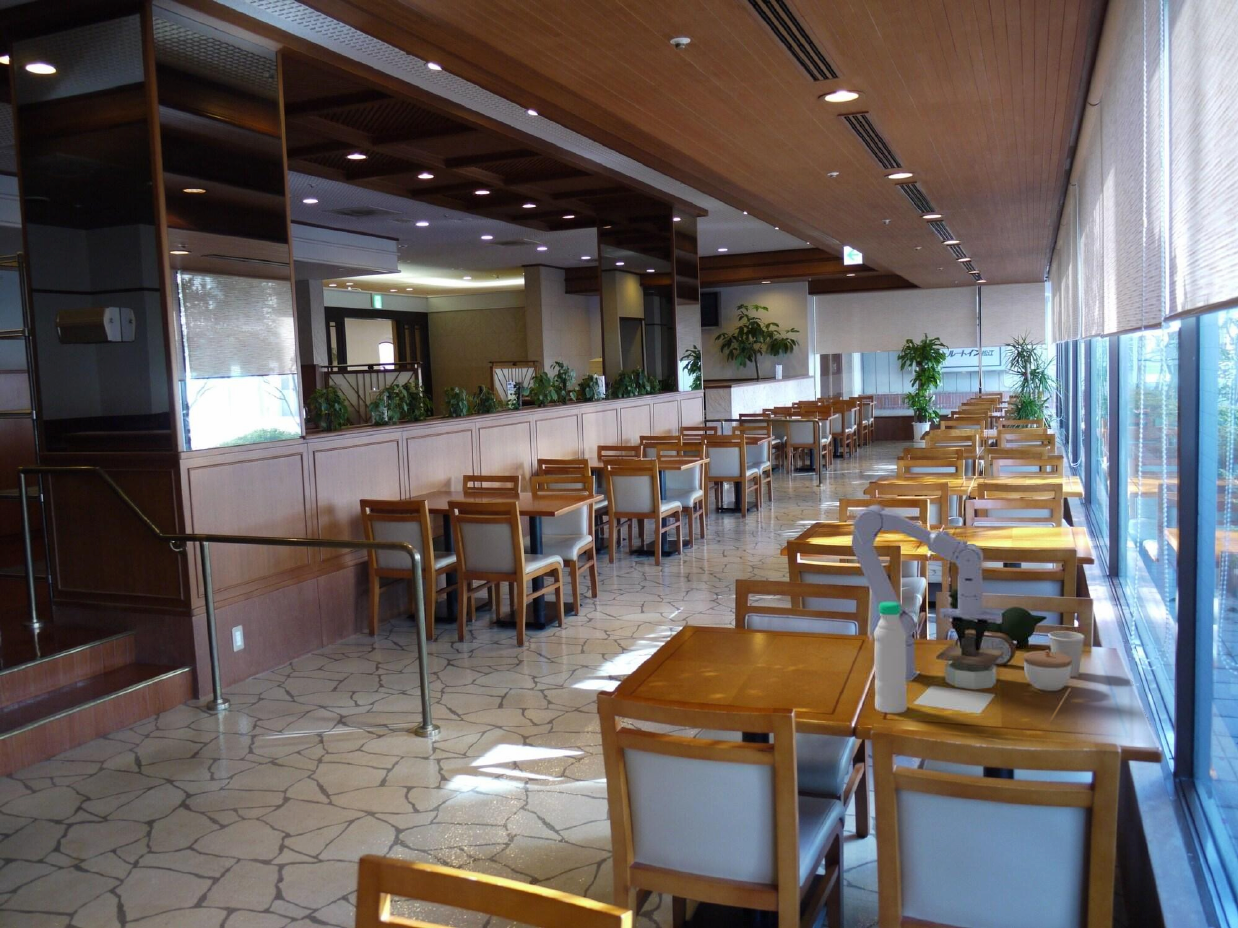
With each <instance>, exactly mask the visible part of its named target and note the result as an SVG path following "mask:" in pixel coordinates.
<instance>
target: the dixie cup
mask: <svg viewBox="0 0 1238 928" xmlns="http://www.w3.org/2000/svg"><path fill="white" fill-rule="evenodd" d="M1047 635H1048V637H1049V643H1050V645H1049V646H1050V652H1057V653H1062V654H1065V655H1067V656H1069V657H1071V659H1072V664H1071V675H1070V678H1076V677H1075V676H1077V677H1079V675H1080V668H1081V667H1080V666H1081V660H1082V654H1083V648H1084V647H1083V646H1084V639H1085V635H1084V634H1082V633H1079V632H1075V631H1069V630H1068V631H1067V630H1054V631H1052V632H1051V631H1050V632H1049V633H1048V634H1047Z"/></svg>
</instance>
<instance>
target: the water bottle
mask: <svg viewBox="0 0 1238 928" xmlns="http://www.w3.org/2000/svg"><path fill="white" fill-rule="evenodd" d="M878 613H879V615H880V619H879V621H878V622H877V626H876V627H875V630H874V632H873V638H874V653H873V654H874V656H873V657H874V658H873V659H874V675H875V676H876V677H875V676H874V677H875V681H874V692H875V697H874V707H875V709H876V711H879V712H882V713H885V714H901V713H904V712H906V711H907V708H908V707H907V706H908V702H907V681H906V680H905V678H906V646H905V639H906V633H905V631H904V629H903V627H902V624H901V622H900V621H899V619H898V616H899V615H900V614H899V613H900V605H899V604H898V603H896V602H882V603H880V604H879V606H878Z"/></svg>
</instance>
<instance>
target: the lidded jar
mask: <svg viewBox="0 0 1238 928" xmlns="http://www.w3.org/2000/svg"><path fill="white" fill-rule="evenodd" d="M1022 658H1023V669H1024V673H1025V678H1026V680H1027V681H1028V682H1029V684H1031V685H1032V687H1034V688H1035V689H1037V690H1042V691H1047V692H1054V691H1055V692H1056V691H1060V690H1061V689H1063V688H1064V687H1066V685H1067V684H1068V683H1069V681H1070V678H1071V677H1070V675H1071V664H1072V659H1071V657H1069V656H1067V655H1065V654H1062V653H1057V652H1051V649H1045V650H1036V651H1029V652H1026V653H1024V654H1023V657H1022Z"/></svg>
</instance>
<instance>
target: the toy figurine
mask: <svg viewBox="0 0 1238 928" xmlns="http://www.w3.org/2000/svg"><path fill="white" fill-rule="evenodd" d="M948 597H949V598H951V600H950V602H949V606H950V607H951V609H958V588H953V589H952V590H951V591H950V592H949V594H948ZM1001 614H1002V622H1001V623H996V622H989V625H988V626H987V628H986V631H987V632H996V633H1002V634H1005V635H1007V636H1008V637H1010V638H1011V639H1012V641H1013V642H1016V645H1017V646H1018V647H1019V648H1021V647H1025V648H1027V647H1028V646H1029V642H1030V640H1029V639H1030V638H1031V637H1032V636H1033V634H1034V633H1035V630H1036V627H1037V625H1039V624H1040V623H1042V622H1043V621H1045V620H1046V619H1048V618H1047V616H1045V615H1038V614H1032V613H1031V612H1030V611H1028V610H1027V609H1025V608H1023V607H1019V606H1012V607H1009V608H1006V609H1005V610H1004V611H1003V612H1002V613H1001ZM976 622H977V621H976V620H966V627H965V631H966V630H975V623H976ZM951 627H952V629H954V628H953V626H952V625H951Z"/></svg>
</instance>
